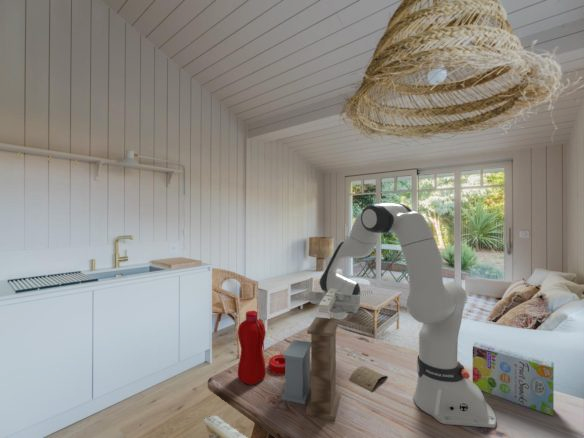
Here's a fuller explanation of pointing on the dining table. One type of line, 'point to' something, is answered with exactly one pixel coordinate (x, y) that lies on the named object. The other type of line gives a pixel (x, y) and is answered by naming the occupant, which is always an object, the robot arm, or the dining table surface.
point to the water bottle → (251, 349)
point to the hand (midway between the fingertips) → (331, 294)
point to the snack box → (514, 377)
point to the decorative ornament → (277, 364)
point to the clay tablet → (365, 377)
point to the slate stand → (297, 372)
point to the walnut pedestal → (323, 369)
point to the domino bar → (328, 300)
